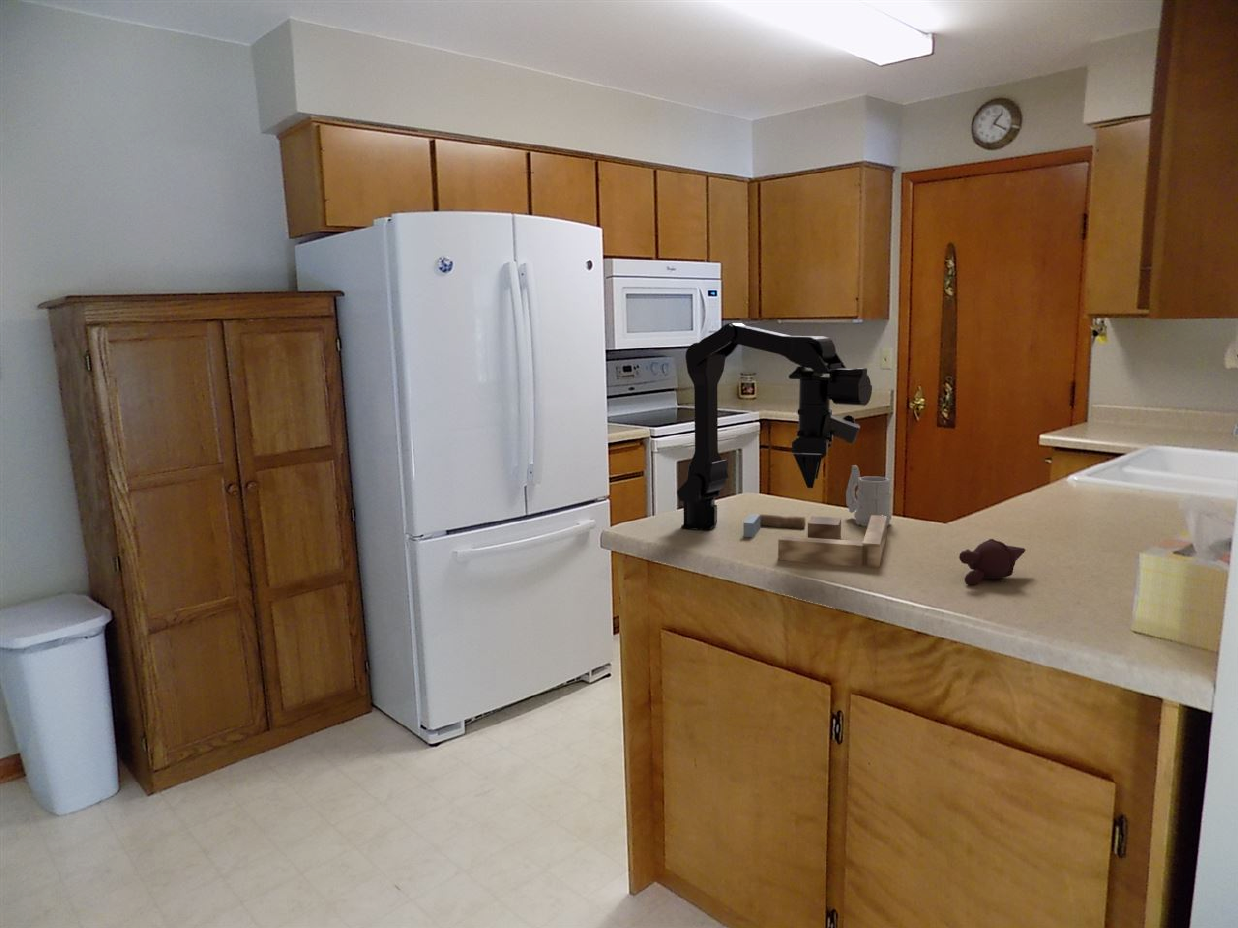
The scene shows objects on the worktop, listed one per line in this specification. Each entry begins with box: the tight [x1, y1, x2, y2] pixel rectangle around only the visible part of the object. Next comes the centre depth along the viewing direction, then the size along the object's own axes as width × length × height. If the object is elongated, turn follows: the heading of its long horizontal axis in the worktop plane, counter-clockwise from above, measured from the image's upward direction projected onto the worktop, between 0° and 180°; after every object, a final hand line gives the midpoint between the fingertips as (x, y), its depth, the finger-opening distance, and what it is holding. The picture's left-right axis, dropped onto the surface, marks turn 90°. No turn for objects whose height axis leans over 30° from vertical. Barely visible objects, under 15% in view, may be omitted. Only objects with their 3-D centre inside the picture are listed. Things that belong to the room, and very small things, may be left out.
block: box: [807, 515, 842, 540], centre depth 164 cm, size 6×6×4 cm
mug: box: [845, 464, 892, 528], centre depth 177 cm, size 8×12×12 cm, turn 27°
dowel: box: [760, 514, 807, 529], centre depth 175 cm, size 10×2×2 cm, turn 70°
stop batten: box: [742, 513, 761, 538], centre depth 171 cm, size 2×8×3 cm, turn 160°
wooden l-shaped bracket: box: [777, 515, 888, 569], centre depth 158 cm, size 18×22×4 cm
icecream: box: [958, 538, 1026, 586], centre depth 137 cm, size 7×7×15 cm
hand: (812, 483), depth 157 cm, fingers open, 9 cm apart
